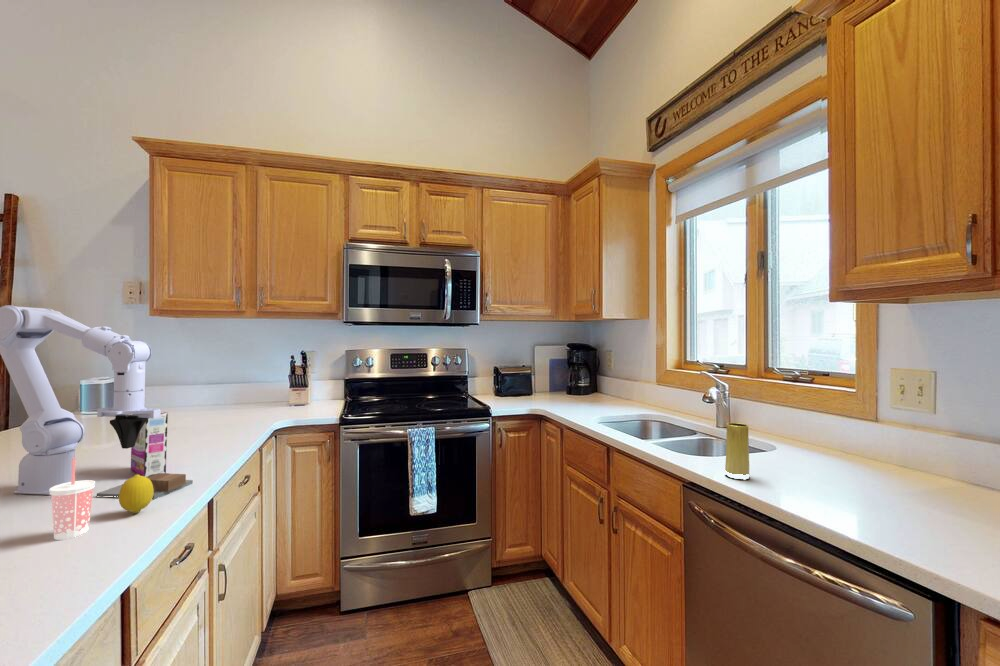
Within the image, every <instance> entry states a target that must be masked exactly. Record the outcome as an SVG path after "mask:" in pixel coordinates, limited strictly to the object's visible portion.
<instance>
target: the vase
mask: <svg viewBox="0 0 1000 666" xmlns="http://www.w3.org/2000/svg"><path fill="white" fill-rule="evenodd" d="M749 439H750V438H749V425H748V424H745V423H742V422H741V423H740V422H727V423H726V445H725V446H726V448H725V450H726V451H725V464H724V465H725V470H726V471H727V472H729V473H732V474H743V475H746V474H749V475H750V445H749V442H750V440H749ZM725 470H724V471H725Z"/></svg>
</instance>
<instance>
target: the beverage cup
mask: <svg viewBox="0 0 1000 666" xmlns="http://www.w3.org/2000/svg"><path fill="white" fill-rule="evenodd" d="M95 486H96V481H95V480H91V479H90V480H89V479H85V480H82V479H81V480H76V457H75V458H72V473H71V482H67V483H63V484H59V485H56V486H53V487H51V488H50V489H49V492H50V496H51V508H52V509H51V510H52V511H51V512H52V527H53V539H54V540H57V541H62V540H64V541H65V540H71V539H75V538H77V537H76V536H79V535H81V534H83V533H86V532H87V531H88V530H90V521H91V520H90V519H91V512H92V504H93V503H92V502H93V492H94V488H95ZM88 532H89V531H88ZM88 532H87V533H88ZM87 533H86V534H87ZM81 536H82V535H81ZM74 537H75V538H74ZM79 537H80V536H79ZM70 538H71V539H70Z"/></svg>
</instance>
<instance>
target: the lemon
mask: <svg viewBox="0 0 1000 666" xmlns="http://www.w3.org/2000/svg"><path fill="white" fill-rule="evenodd" d="M122 484H123V485H122ZM122 484H121V485H122V487H121V489H120V492H119V498H118V501H119V505H120V506H121V508H122V509H123V510H124V511H127V512H131V513H133V514H134V513H136V514H138V513H139V512H140V511H142V510H143V509H146V508H147V507H148V506H149V505H150V503H151V501H153V499H152V498H153V493H154V489H153V485H152V482H151V480H150V479H149V478H147V477H145V476H140V475H139V474H135V475H133V476H131V477H130V478H128V479H127V480H126V481H124V482H123V483H122ZM137 512H138V513H137Z"/></svg>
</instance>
